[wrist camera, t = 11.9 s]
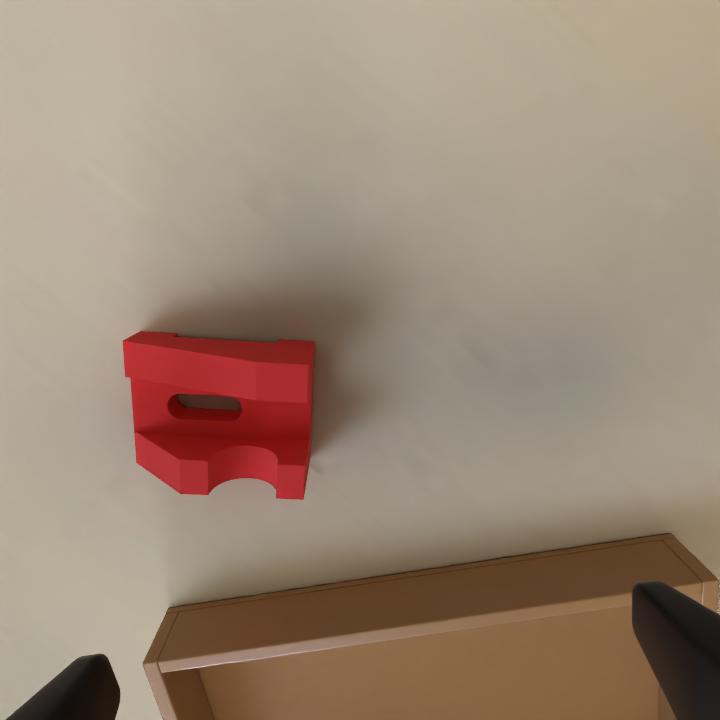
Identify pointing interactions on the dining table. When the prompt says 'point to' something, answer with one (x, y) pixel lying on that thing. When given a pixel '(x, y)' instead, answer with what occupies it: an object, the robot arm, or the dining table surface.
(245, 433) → the bracket
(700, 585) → the cardboard box
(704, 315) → the dining table surface
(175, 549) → the dining table surface
